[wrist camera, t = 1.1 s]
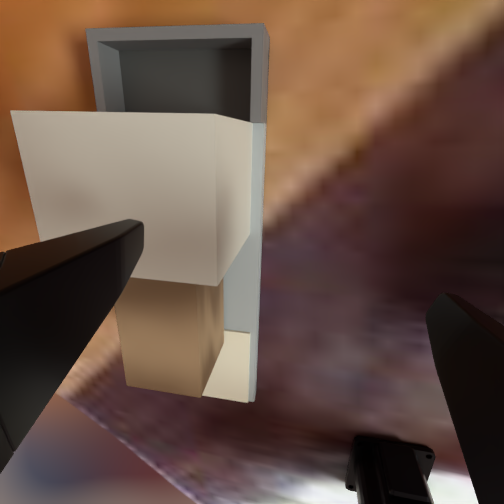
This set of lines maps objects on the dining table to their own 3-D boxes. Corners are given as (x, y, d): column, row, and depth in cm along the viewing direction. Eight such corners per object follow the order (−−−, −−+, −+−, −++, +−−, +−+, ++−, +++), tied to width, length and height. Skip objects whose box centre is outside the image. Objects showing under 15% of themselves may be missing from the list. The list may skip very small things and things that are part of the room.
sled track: (256, 393, 27) (231, 505, 19) (150, 376, 29) (85, 473, 20) (269, 37, 18) (233, -51, 9) (111, 41, 19) (-41, -32, 11)
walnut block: (224, 342, 24) (200, 397, 19) (164, 334, 25) (126, 385, 20) (222, 156, 19) (190, 164, 14) (147, 154, 20) (91, 159, 15)
